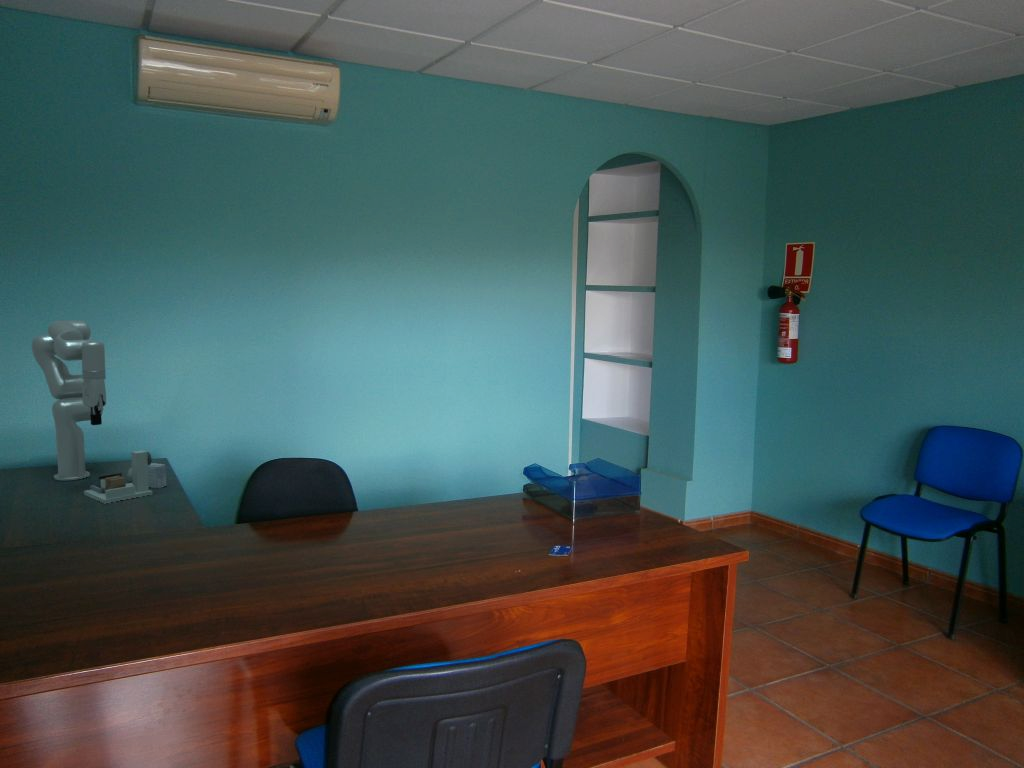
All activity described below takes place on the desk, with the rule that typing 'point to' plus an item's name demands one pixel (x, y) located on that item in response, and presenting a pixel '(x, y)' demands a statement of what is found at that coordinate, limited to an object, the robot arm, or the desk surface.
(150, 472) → the medicine box
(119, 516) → the desk surface
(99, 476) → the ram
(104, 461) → the desk surface
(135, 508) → the desk surface
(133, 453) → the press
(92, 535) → the desk surface
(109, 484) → the block
